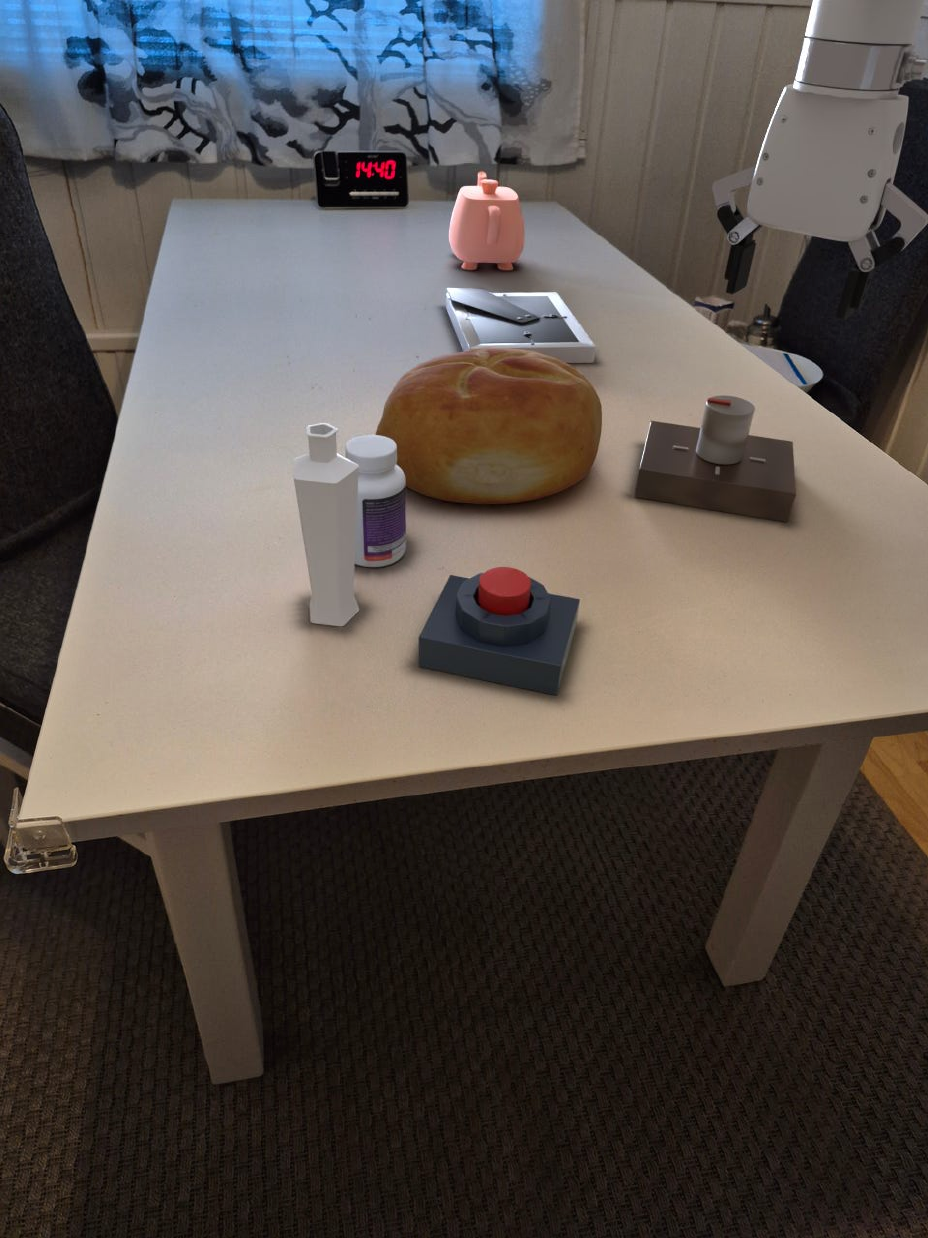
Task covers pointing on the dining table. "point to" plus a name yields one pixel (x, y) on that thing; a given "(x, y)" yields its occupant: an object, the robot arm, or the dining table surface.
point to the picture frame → (518, 323)
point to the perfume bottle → (328, 524)
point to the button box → (499, 637)
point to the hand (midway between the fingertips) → (788, 302)
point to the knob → (724, 429)
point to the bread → (493, 426)
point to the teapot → (487, 225)
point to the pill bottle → (378, 501)
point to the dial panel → (717, 474)
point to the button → (504, 591)
